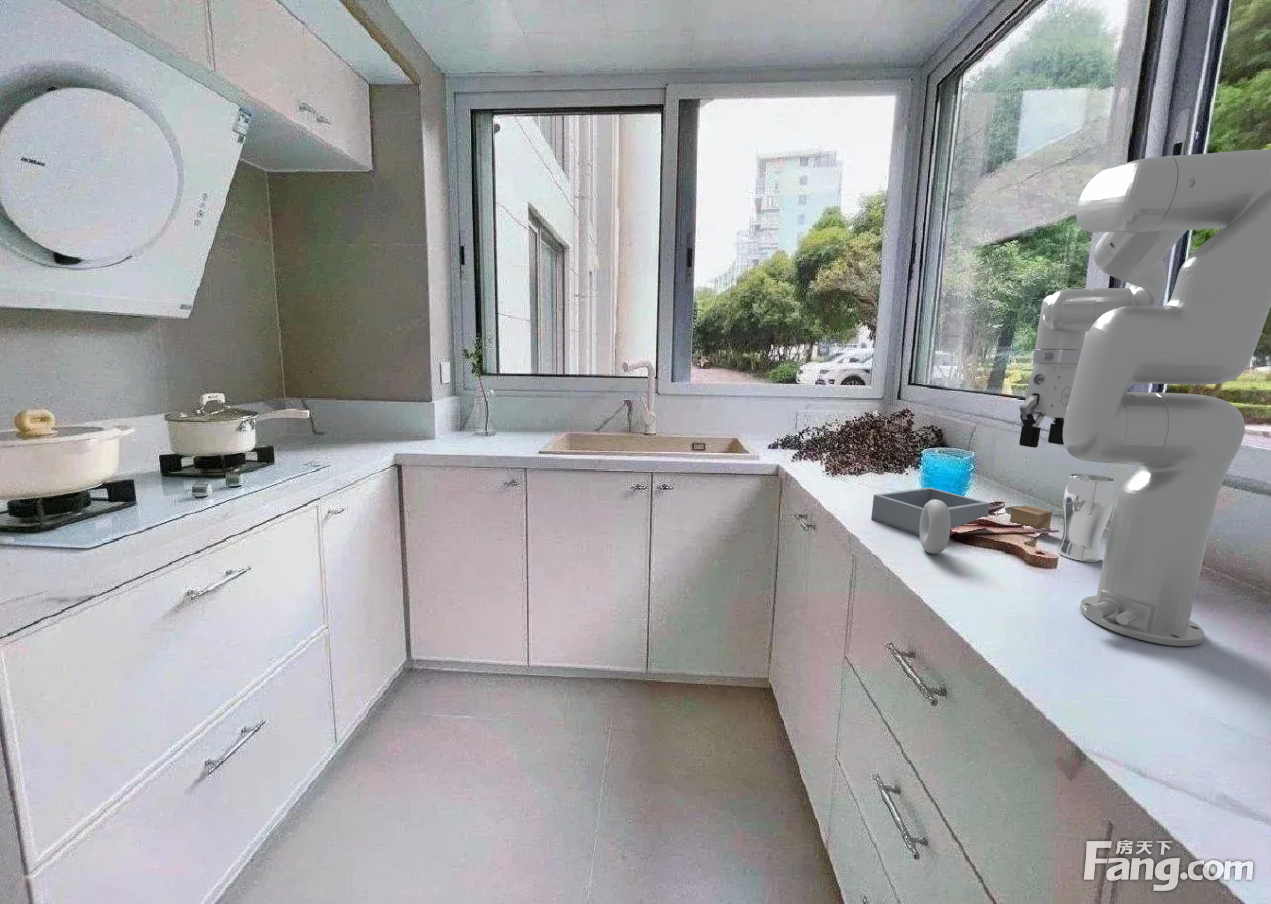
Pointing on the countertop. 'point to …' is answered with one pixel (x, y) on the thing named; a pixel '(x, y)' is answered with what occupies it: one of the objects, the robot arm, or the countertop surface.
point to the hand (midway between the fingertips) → (1042, 445)
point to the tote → (907, 510)
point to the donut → (935, 526)
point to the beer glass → (1086, 515)
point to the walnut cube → (1031, 517)
